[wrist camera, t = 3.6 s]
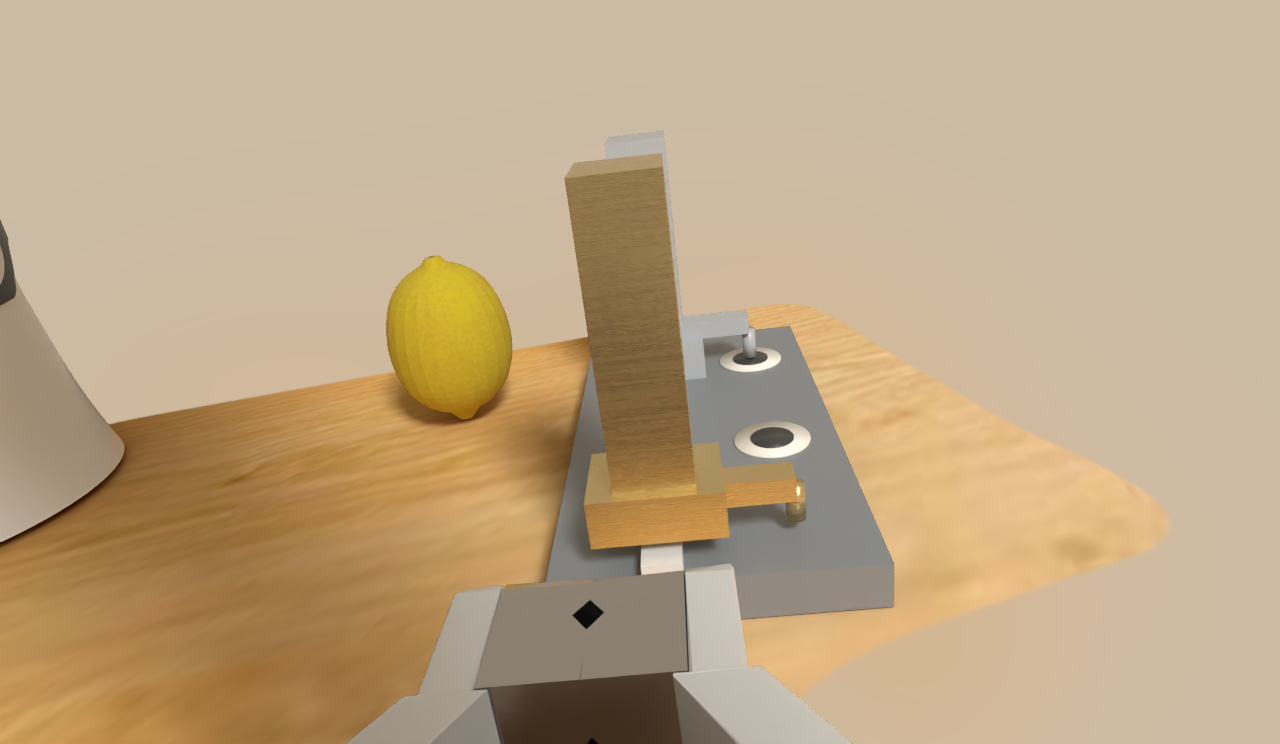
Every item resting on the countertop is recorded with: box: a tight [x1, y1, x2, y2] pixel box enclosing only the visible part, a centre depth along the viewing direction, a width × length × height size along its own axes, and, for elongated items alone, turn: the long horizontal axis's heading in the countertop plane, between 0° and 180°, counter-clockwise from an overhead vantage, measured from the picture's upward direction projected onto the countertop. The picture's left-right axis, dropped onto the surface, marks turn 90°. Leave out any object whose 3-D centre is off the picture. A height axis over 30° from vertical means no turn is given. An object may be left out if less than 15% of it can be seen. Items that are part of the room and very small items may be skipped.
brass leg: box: [565, 153, 806, 549], centre depth 23 cm, size 6×3×11 cm, turn 89°
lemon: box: [386, 256, 512, 420], centre depth 38 cm, size 6×6×8 cm
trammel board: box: [546, 131, 894, 619], centre depth 31 cm, size 10×20×12 cm, turn 179°
